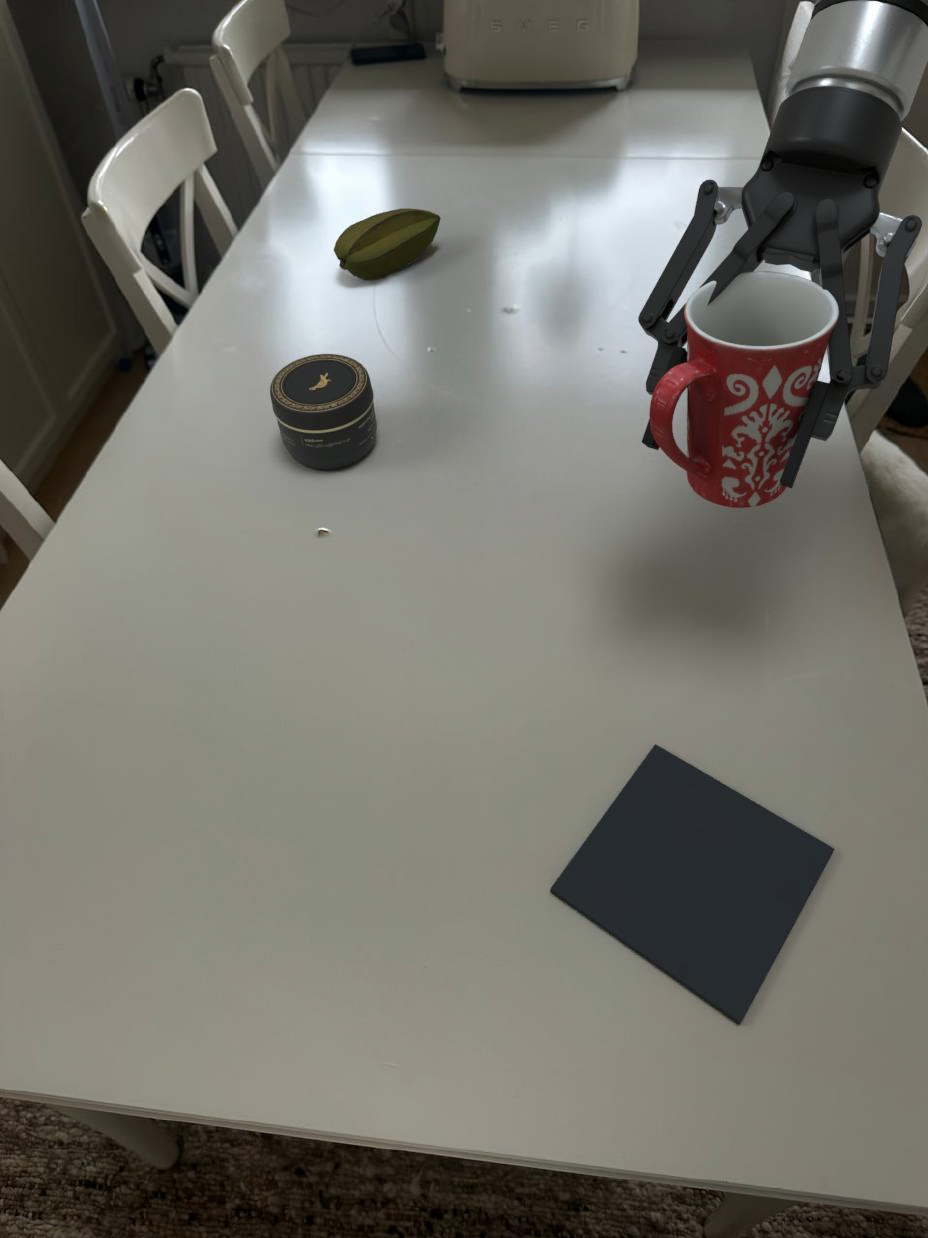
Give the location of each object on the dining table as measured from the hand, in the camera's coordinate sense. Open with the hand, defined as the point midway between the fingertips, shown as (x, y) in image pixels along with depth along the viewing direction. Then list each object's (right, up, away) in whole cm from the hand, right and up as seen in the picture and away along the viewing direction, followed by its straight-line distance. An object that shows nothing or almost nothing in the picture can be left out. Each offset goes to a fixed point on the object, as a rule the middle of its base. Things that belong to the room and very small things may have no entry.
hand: (716, 464), depth 57 cm
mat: (-1, -28, +2) cm, 28 cm away
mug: (+2, -1, +6) cm, 6 cm away
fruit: (-26, +35, +54) cm, 70 cm away
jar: (-31, +8, +32) cm, 45 cm away
